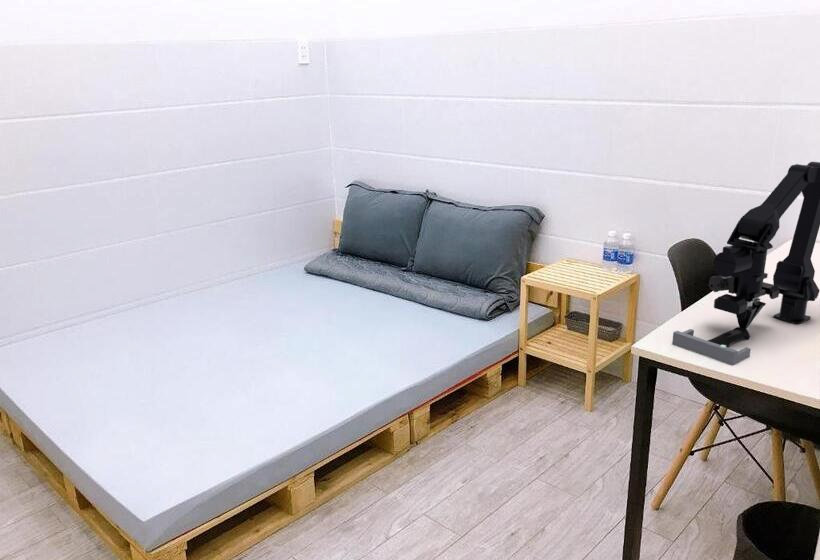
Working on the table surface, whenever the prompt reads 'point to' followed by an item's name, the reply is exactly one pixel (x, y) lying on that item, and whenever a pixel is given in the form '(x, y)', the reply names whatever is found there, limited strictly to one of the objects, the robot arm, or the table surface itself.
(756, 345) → the table surface
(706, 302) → the table surface
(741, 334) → the electric trimmer
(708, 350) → the charging dock
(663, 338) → the table surface
